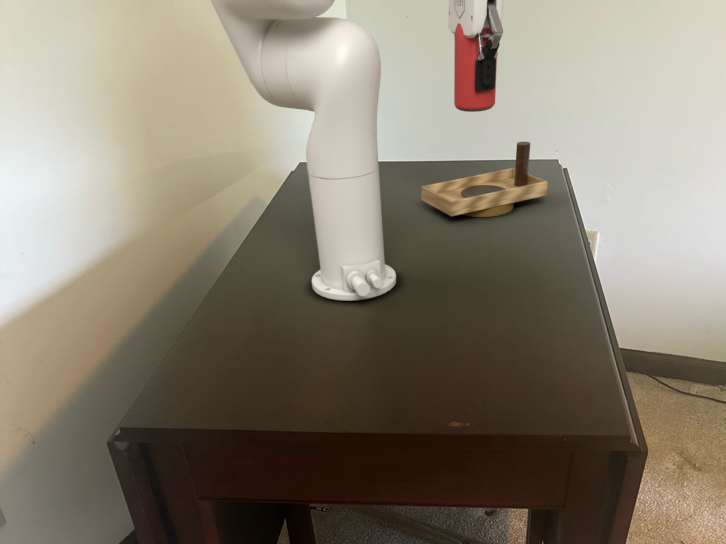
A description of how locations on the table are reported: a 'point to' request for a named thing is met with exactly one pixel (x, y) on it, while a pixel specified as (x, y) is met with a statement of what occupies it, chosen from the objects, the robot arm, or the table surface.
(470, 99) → the beer can
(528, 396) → the table surface
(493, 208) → the turntable base
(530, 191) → the tray
